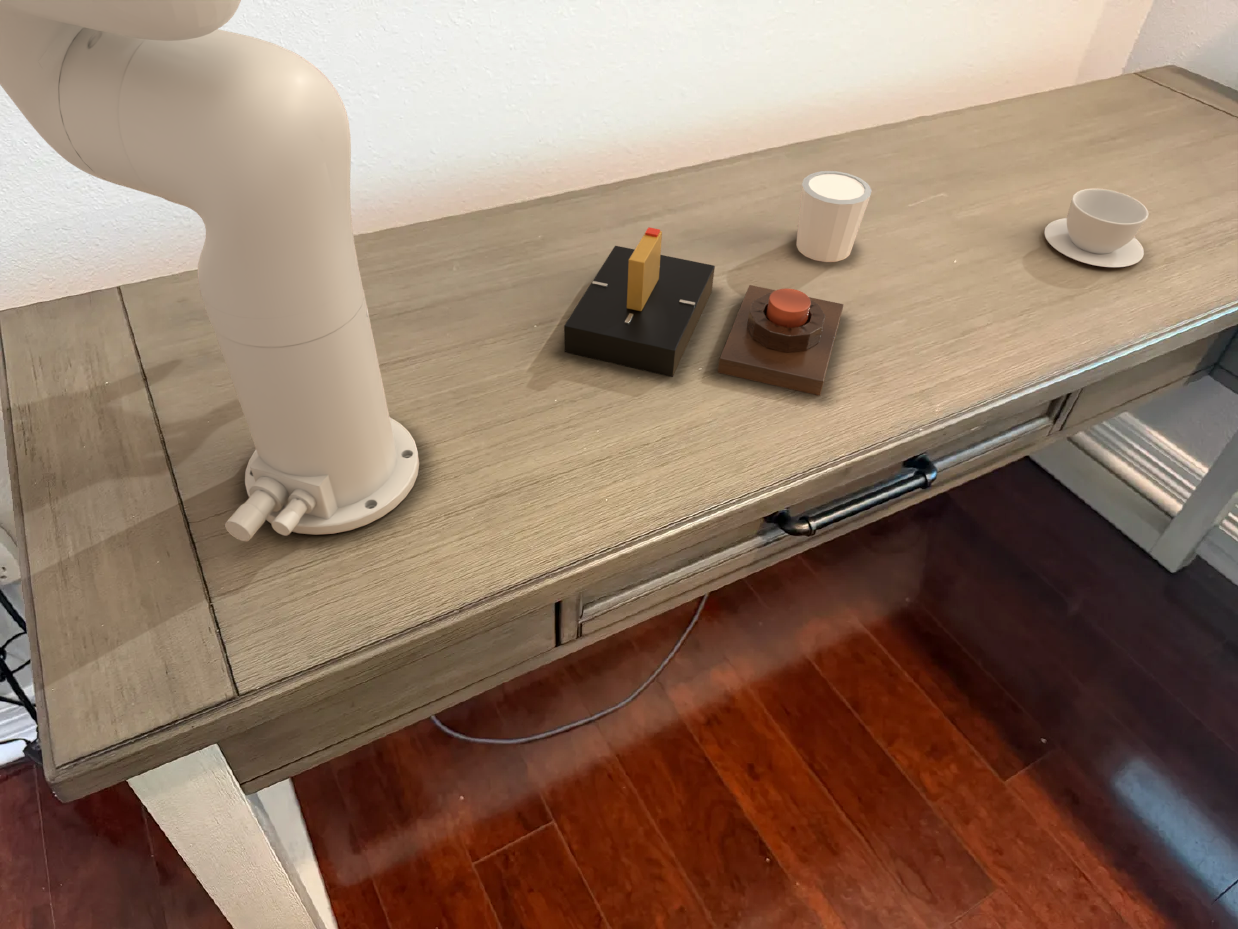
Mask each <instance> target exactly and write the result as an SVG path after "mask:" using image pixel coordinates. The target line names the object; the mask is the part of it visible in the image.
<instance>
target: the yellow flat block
mask: <svg viewBox="0 0 1238 929" xmlns="http://www.w3.org/2000/svg"><path fill="white" fill-rule="evenodd" d="M662 238H663V231H662V230H661V229H659V228H655V227H650V226H648V227H647V229H646V230H645V232H644V234H643V235H642V236H641V239H640V240H639V242H638V243H637V245H636V247H635V248H634V249H635V250H634V252H633V254H632V255H631V257H630V259H629V265H628V288H627V308H628V309H633V310H637V311H642V309H643V307H644V305H645V304H646V302H647V300H648V298H649V296H650V294H651V292H652V291H653V289H654V287H655V285H656V283H657V281H658V280H659V269H660V255H662V254H661V252H662V240H663V239H662Z"/></svg>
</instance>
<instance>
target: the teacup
mask: <svg viewBox="0 0 1238 929" xmlns="http://www.w3.org/2000/svg"><path fill="white" fill-rule="evenodd" d="M1148 218H1149V210H1148V209H1147V207H1146V206H1145V204H1143V203H1142V202H1141V201H1139V200H1138V199H1136V198H1135V197H1133V196H1132V195H1131V196H1130V195H1128V194H1127V193H1126V194H1125V193H1123V192H1120V191H1116V190H1112V189H1108V188H1107V189H1106V188H1097V187H1096V188H1085V189H1081V190H1078V191H1076V192H1075V193H1074V194H1073V195H1072V197H1071V200H1070V204H1069V208H1068V211H1067V215H1066V217H1063V218H1058V219H1055V220H1053V221H1051V222H1049V223H1048V224H1047V225H1046V226H1045V228H1044V237H1045V239H1046V241H1047V243H1049V245H1051V247H1053V248H1054V249H1055V250H1056V251H1058V252H1059V253H1061V254H1063V255H1064V256H1066V257H1068V258H1070V259H1073V260H1075V261H1078V262H1081V263H1084V264H1087V265H1092V266H1097V267H1104V268H1124V267H1125V268H1126V267H1129V266H1133V265H1135V264H1137V263H1139V262H1140V261H1141V260H1142V259H1143V257H1144V255H1145V252H1144V251H1145V250H1144V247H1143V245H1142V244H1141V242H1140V241H1139V240H1138V239H1137V238H1136V236H1137V234H1139V231H1140V230H1141V229H1142V227H1143V226H1144V224H1145V223H1146V221H1147V220H1148Z"/></svg>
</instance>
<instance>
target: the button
mask: <svg viewBox="0 0 1238 929" xmlns="http://www.w3.org/2000/svg"><path fill="white" fill-rule="evenodd" d="M775 290H776V291H774V292H773V293H772V294H771V295H770V297H769V302H768V308H767V317H768V319H769V320H770V321H771V322H772V323H774V324H776V325H778V326H783V327H787V328H793V327H800V326H802V325H804V324H805V323H806V321H807V319H808V314H809V310H810V305H811V301H810V298H809V297H810V296H809V295H807V294H806V293H804V292H803V291H801V290H798V289H795V288H794V289H793V288H788V287H787V288H779V289H775Z"/></svg>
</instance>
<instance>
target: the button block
mask: <svg viewBox="0 0 1238 929" xmlns="http://www.w3.org/2000/svg"><path fill="white" fill-rule="evenodd" d="M776 290H777V289H772V288H767V287H761V286H756V285H752V284H749V285H748V287H747V289H746V292H745V294H744V297H743V298H742V301H741V304H740V307H739V310H738V311H737V314H736V316H735V319H734V322H733V324H732V326H731V329H730V332H729V334H728V337H727V339H726V342H725V343H724V347H723V349H722V351H721V354H720V356H719V359H718V366H717V373H718V374H723V375H727V376H731V377H736V378H740V379H745V380H749V381H753V382H758V383H762V384H765V385H771V386H775V387H779V388H784V389H789V390H794V391H798V392H801V393H805V394H811V395H815V396H821V394H822V390H823V388H824V387H823V386H824V382H825V379H826V375H827V371H828V367H829V364H830V360H831V356H832V352H833V348H834V344H835V341H836V337H837V333H838V329H839V326H840V322H841V318H842V314H843V310H844V303H839V302H835V301H830V300H825V299H820V298H815V297H811V296H808V297H809V298H810V301H811V305H810V310H809V314H808V319H807V321H806V323H805V324H804V325H802V326H800V327H793V328H787V327H783V326H778V325H776V324H774V323H772V322H771V321H770V320H769V319H768V317H767V308H768V302H769V297H770V295H771V294H772V293H773V292H774V291H776Z"/></svg>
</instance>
